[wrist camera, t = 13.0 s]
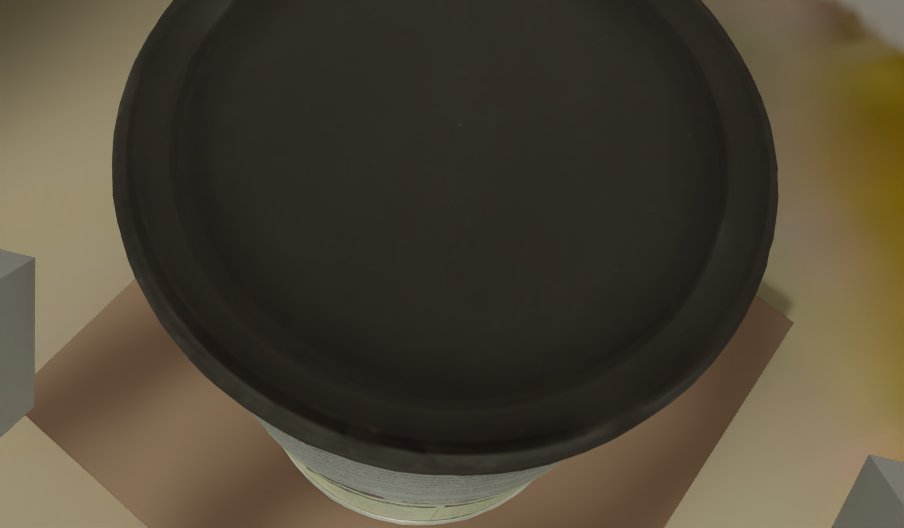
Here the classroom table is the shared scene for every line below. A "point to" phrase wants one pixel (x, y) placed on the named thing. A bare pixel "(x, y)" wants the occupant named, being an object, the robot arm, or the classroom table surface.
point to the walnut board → (288, 490)
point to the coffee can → (444, 226)
